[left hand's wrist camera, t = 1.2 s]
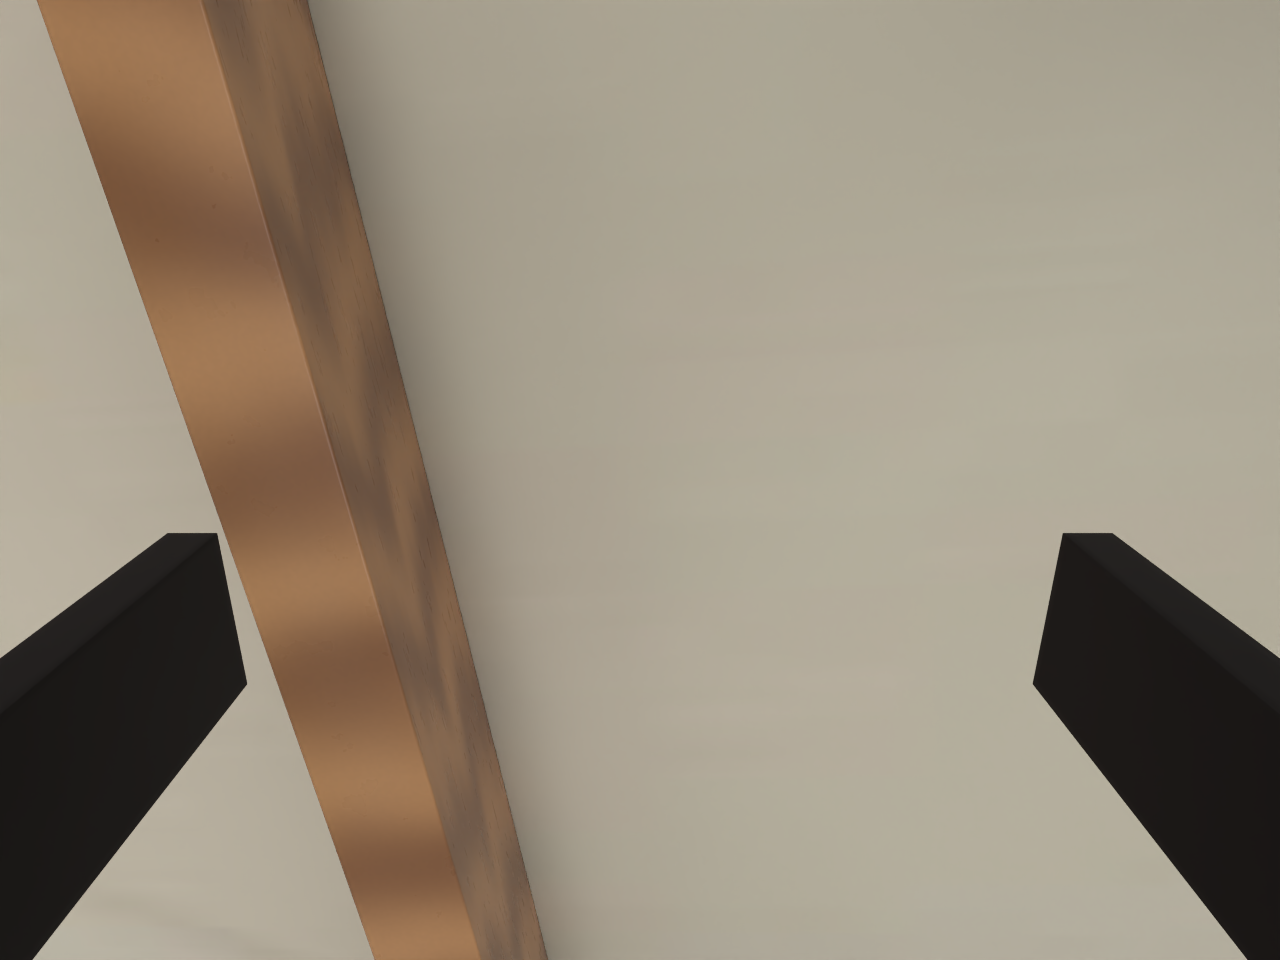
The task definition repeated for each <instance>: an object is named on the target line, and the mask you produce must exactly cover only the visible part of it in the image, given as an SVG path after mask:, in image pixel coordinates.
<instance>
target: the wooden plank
mask: <svg viewBox="0 0 1280 960" xmlns="http://www.w3.org/2000/svg"><path fill="white" fill-rule="evenodd" d="M37 2H38V5H39V8H40V10H41V13H42V16H43V19H44V22H45V25H46V27H47V30H48V33H49V36H50V39H51V42H52V44H53V47H54V50H55V53H56V56H57V59H58V62H59V64H60V67H61V70H62V73H63V76H64V79H65V81H66V84H67V87H68V90H69V93H70V96H71V98H72V101H73V104H74V107H75V110H76V113H77V115H78V118H79V121H80V124H81V127H82V130H83V133H84V135H85V138H86V141H87V144H88V147H89V150H90V152H91V155H92V158H93V161H94V164H95V167H96V169H97V172H98V175H99V178H100V181H101V184H102V186H103V189H104V192H105V195H106V198H107V201H108V204H109V206H110V209H111V212H112V215H113V218H114V221H115V223H116V226H117V229H118V232H119V235H120V238H121V240H122V243H123V246H124V249H125V252H126V255H127V257H128V260H129V263H130V266H131V269H132V272H133V274H134V277H135V280H136V283H137V286H138V289H139V292H140V294H141V297H142V300H143V303H144V306H145V309H146V311H147V314H148V317H149V320H150V323H151V326H152V328H153V331H154V334H155V337H156V340H157V343H158V345H159V348H160V351H161V354H162V357H163V360H164V363H165V365H166V368H167V371H168V374H169V377H170V380H171V382H172V385H173V388H174V391H175V394H176V397H177V399H178V402H179V405H180V408H181V411H182V414H183V416H184V419H185V422H186V425H187V428H188V431H189V434H190V436H191V439H192V442H193V445H194V448H195V451H196V453H197V456H198V459H199V462H200V465H201V468H202V470H203V473H204V476H205V479H206V482H207V485H208V487H209V490H210V493H211V496H212V499H213V502H214V504H215V507H216V510H217V513H218V516H219V519H220V522H221V524H222V527H223V530H224V533H225V536H226V539H227V541H228V544H229V547H230V550H231V553H232V556H233V558H234V561H235V564H236V567H237V570H238V573H239V575H240V578H241V581H242V584H243V587H244V590H245V593H246V595H247V598H248V601H249V604H250V607H251V610H252V612H253V615H254V618H255V621H256V624H257V627H258V629H259V632H260V635H261V638H262V641H263V644H264V646H265V649H266V652H267V655H268V658H269V661H270V663H271V666H272V669H273V672H274V675H275V678H276V681H277V683H278V686H279V689H280V692H281V695H282V698H283V700H284V703H285V706H286V709H287V712H288V715H289V717H290V720H291V723H292V726H293V729H294V732H295V734H296V737H297V740H298V743H299V746H300V749H301V752H302V754H303V757H304V760H305V763H306V766H307V769H308V771H309V774H310V777H311V780H312V783H313V786H314V788H315V791H316V794H317V797H318V800H319V803H320V805H321V808H322V811H323V814H324V817H325V820H326V823H327V825H328V828H329V831H330V834H331V837H332V840H333V842H334V845H335V848H336V851H337V854H338V857H339V859H340V862H341V865H342V868H343V871H344V874H345V876H346V879H347V882H348V885H349V888H350V891H351V893H352V896H353V899H354V902H355V905H356V908H357V911H358V913H359V916H360V919H361V922H362V925H363V928H364V930H365V933H366V936H367V939H368V942H369V945H370V947H371V950H372V953H373V956H374V959H375V960H548V959H547V955H546V951H545V947H544V943H543V939H542V935H541V931H540V927H539V923H538V919H537V915H536V911H535V907H534V903H533V899H532V895H531V891H530V887H529V883H528V879H527V875H526V871H525V867H524V863H523V859H522V855H521V851H520V847H519V843H518V839H517V835H516V831H515V827H514V823H513V819H512V815H511V811H510V807H509V803H508V799H507V795H506V792H505V788H504V784H503V780H502V776H501V772H500V768H499V764H498V760H497V756H496V752H495V748H494V744H493V740H492V736H491V732H490V728H489V724H488V720H487V716H486V712H485V708H484V704H483V700H482V696H481V692H480V688H479V684H478V680H477V676H476V672H475V668H474V664H473V660H472V656H471V652H470V648H469V644H468V640H467V636H466V632H465V628H464V624H463V620H462V616H461V612H460V608H459V604H458V600H457V596H456V592H455V588H454V584H453V580H452V576H451V573H450V569H449V565H448V561H447V557H446V553H445V549H444V545H443V541H442V537H441V533H440V529H439V525H438V521H437V517H436V513H435V509H434V505H433V501H432V497H431V493H430V489H429V485H428V481H427V477H426V473H425V469H424V465H423V461H422V457H421V453H420V449H419V445H418V441H417V437H416V433H415V429H414V425H413V421H412V417H411V413H410V409H409V405H408V401H407V397H406V393H405V389H404V385H403V381H402V377H401V373H400V369H399V365H398V361H397V358H396V354H395V350H394V346H393V342H392V338H391V334H390V330H389V326H388V322H387V318H386V314H385V310H384V306H383V302H382V298H381V294H380V290H379V286H378V282H377V278H376V274H375V270H374V266H373V262H372V258H371V254H370V250H369V246H368V242H367V238H366V234H365V230H364V226H363V222H362V218H361V214H360V210H359V206H358V202H357V198H356V194H355V190H354V186H353V182H352V178H351V174H350V170H349V166H348V162H347V158H346V154H345V150H344V146H343V142H342V139H341V135H340V131H339V127H338V123H337V119H336V115H335V111H334V107H333V103H332V99H331V95H330V91H329V87H328V83H327V79H326V75H325V71H324V67H323V63H322V59H321V55H320V51H319V47H318V43H317V39H316V35H315V31H314V27H313V23H312V19H311V15H310V11H309V7H308V3H307V0H37Z"/></svg>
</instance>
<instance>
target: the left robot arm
mask: <svg viewBox="0 0 1280 960" xmlns="http://www.w3.org/2000/svg"><path fill="white" fill-rule="evenodd" d="M246 685H247V680H246V675H245V670H244V665H243V660H242V655H241V650H240V645H239V640H238V635H237V630H236V625H235V620H234V615H233V610H232V605H231V600H230V595H229V590H228V585H227V580H226V575H225V570H224V565H223V560H222V555H221V550H220V545H219V540H218V535H217V533H167V534H166V535H165V536H163V537H162V538H161V539H159V540H158V541H157V542H155V543H154V544H153V545H151V546H150V547H149V548H147V549H146V550H145V551H143V552H142V553H141V554H139V555H138V556H137V557H135V558H134V559H133V560H131V561H130V562H129V563H127V564H126V565H124V566H123V567H122V568H120V569H119V570H118V571H116V572H115V573H114V574H112V575H111V576H110V577H108V578H107V579H106V580H104V581H103V582H102V583H100V584H99V585H98V586H96V587H95V588H94V589H92V590H91V591H90V592H88V593H87V594H86V595H84V596H83V597H82V598H80V599H79V600H78V601H76V602H75V603H74V604H72V605H71V606H70V607H68V608H67V609H66V610H64V611H63V612H62V613H60V614H59V615H58V616H56V617H55V618H54V619H52V620H51V621H50V622H48V623H47V624H46V625H44V626H43V627H42V628H40V629H39V630H38V631H36V632H35V633H34V634H32V635H31V636H30V637H28V638H27V639H26V640H24V641H23V642H22V643H20V644H19V645H18V646H16V647H15V648H14V649H12V650H11V651H9V652H8V653H7V654H5V655H4V656H3V657H1V658H0V960H33V958H34V957H35V956H36V955H37V953H38V952H39V951H40V949H41V948H42V947H43V946H44V944H45V943H46V942H47V940H48V939H49V938H50V937H51V935H52V934H53V933H54V931H55V930H56V929H57V928H58V926H59V925H60V924H61V922H62V921H63V920H64V919H65V917H66V916H67V915H68V913H69V912H70V911H71V910H72V908H73V907H74V906H75V904H76V903H77V902H78V901H79V899H80V898H81V897H82V895H83V894H84V893H85V892H86V890H87V889H88V888H89V886H90V885H91V884H92V883H93V881H94V880H95V879H96V878H97V876H98V875H99V874H100V872H101V871H102V870H103V869H104V867H105V866H106V865H107V863H108V862H109V861H110V860H111V858H112V857H113V856H114V854H115V853H116V852H117V851H118V849H119V848H120V847H121V845H122V844H123V843H124V842H125V840H126V839H127V838H128V836H129V835H130V834H131V833H132V831H133V830H134V829H135V827H136V826H137V825H138V824H139V822H140V821H141V820H142V818H143V817H144V816H145V815H146V813H147V812H148V811H149V809H150V808H151V807H152V806H153V804H154V803H155V802H156V801H157V799H158V798H159V797H160V795H161V794H162V793H163V792H164V790H165V789H166V788H167V786H168V785H169V784H170V783H171V781H172V780H173V779H174V777H175V776H176V775H177V774H178V772H179V771H180V770H181V768H182V767H183V766H184V765H185V763H186V762H187V761H188V759H189V758H190V757H191V756H192V754H193V753H194V752H195V750H196V749H197V748H198V747H199V745H200V744H201V743H202V741H203V740H204V739H205V738H206V736H207V735H208V734H209V732H210V731H211V730H212V729H213V727H214V726H215V725H216V723H217V722H218V721H219V720H220V718H221V717H222V716H223V715H224V713H225V712H226V711H227V709H228V708H229V707H230V706H231V704H232V703H233V702H234V700H235V699H236V698H237V697H238V695H239V694H240V693H241V691H242V690H243V689H244V688H245V686H246ZM1033 685H1034V686H1035V688H1036V689H1037V690H1038V691H1039V693H1040V694H1041V695H1042V697H1043V698H1044V699H1045V700H1046V702H1047V703H1048V704H1049V706H1050V707H1051V708H1052V709H1053V711H1054V712H1055V713H1056V715H1057V716H1058V717H1059V718H1060V720H1061V721H1062V722H1063V724H1064V725H1065V726H1066V727H1067V729H1068V730H1069V731H1070V732H1071V734H1072V735H1073V736H1074V738H1075V739H1076V740H1077V741H1078V743H1079V744H1080V745H1081V747H1082V748H1083V749H1084V750H1085V752H1086V753H1087V754H1088V756H1089V757H1090V758H1091V759H1092V761H1093V762H1094V763H1095V765H1096V766H1097V767H1098V768H1099V770H1100V771H1101V772H1102V774H1103V775H1104V776H1105V777H1106V779H1107V780H1108V781H1109V783H1110V784H1111V785H1112V786H1113V788H1114V789H1115V790H1116V792H1117V793H1118V794H1119V795H1120V797H1121V798H1122V799H1123V801H1124V802H1125V803H1126V804H1127V806H1128V807H1129V808H1130V809H1131V811H1132V812H1133V813H1134V815H1135V816H1136V817H1137V818H1138V820H1139V821H1140V822H1141V824H1142V825H1143V826H1144V827H1145V829H1146V830H1147V831H1148V833H1149V834H1150V835H1151V836H1152V838H1153V839H1154V840H1155V842H1156V843H1157V844H1158V845H1159V847H1160V848H1161V849H1162V851H1163V852H1164V853H1165V854H1166V856H1167V857H1168V858H1169V860H1170V861H1171V862H1172V863H1173V865H1174V866H1175V867H1176V869H1177V870H1178V871H1179V872H1180V874H1181V875H1182V876H1183V878H1184V879H1185V880H1186V881H1187V883H1188V884H1189V885H1190V886H1191V888H1192V889H1193V890H1194V892H1195V893H1196V894H1197V895H1198V897H1199V898H1200V899H1201V901H1202V902H1203V903H1204V904H1205V906H1206V907H1207V908H1208V910H1209V911H1210V912H1211V913H1212V915H1213V916H1214V917H1215V919H1216V920H1217V921H1218V922H1219V924H1220V925H1221V926H1222V928H1223V929H1224V930H1225V931H1226V933H1227V934H1228V935H1229V937H1230V938H1231V939H1232V940H1233V942H1234V943H1235V944H1236V946H1237V947H1238V948H1239V949H1240V951H1241V952H1242V953H1243V955H1244V956H1245V957H1246V958H1247V960H1280V658H1279V657H1277V656H1276V655H1275V654H1273V653H1272V652H1271V651H1269V650H1268V649H1266V648H1265V647H1264V646H1262V645H1261V644H1260V643H1258V642H1257V641H1256V640H1254V639H1253V638H1252V637H1250V636H1249V635H1248V634H1246V633H1245V632H1244V631H1242V630H1241V629H1240V628H1238V627H1237V626H1236V625H1234V624H1233V623H1232V622H1230V621H1229V620H1228V619H1226V618H1225V617H1224V616H1222V615H1221V614H1220V613H1218V612H1217V611H1216V610H1214V609H1213V608H1212V607H1210V606H1209V605H1208V604H1206V603H1205V602H1204V601H1202V600H1201V599H1200V598H1198V597H1197V596H1196V595H1194V594H1193V593H1192V592H1190V591H1189V590H1188V589H1186V588H1185V587H1184V586H1182V585H1181V584H1180V583H1178V582H1177V581H1176V580H1174V579H1173V578H1172V577H1170V576H1169V575H1168V574H1166V573H1165V572H1164V571H1162V570H1161V569H1160V568H1158V567H1157V566H1156V565H1154V564H1153V563H1151V562H1150V561H1149V560H1147V559H1146V558H1145V557H1143V556H1142V555H1141V554H1139V553H1138V552H1137V551H1135V550H1134V549H1133V548H1131V547H1130V546H1129V545H1127V544H1126V543H1125V542H1123V541H1122V540H1121V539H1119V538H1118V537H1117V536H1115V535H1114V534H1113V533H1063V535H1062V540H1061V545H1060V550H1059V555H1058V560H1057V565H1056V570H1055V575H1054V580H1053V585H1052V590H1051V595H1050V600H1049V605H1048V610H1047V615H1046V620H1045V625H1044V630H1043V635H1042V640H1041V645H1040V650H1039V655H1038V660H1037V665H1036V670H1035V675H1034V680H1033Z"/></svg>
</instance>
